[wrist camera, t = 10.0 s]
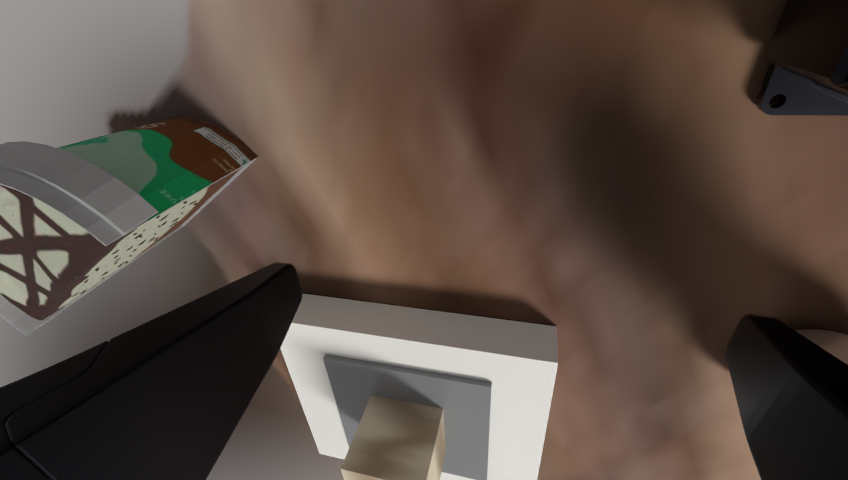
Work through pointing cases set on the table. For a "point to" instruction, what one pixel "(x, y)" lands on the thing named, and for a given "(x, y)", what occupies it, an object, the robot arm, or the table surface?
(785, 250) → the table surface
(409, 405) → the birch block
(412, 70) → the table surface
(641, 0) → the table surface
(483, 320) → the base
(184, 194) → the food container
